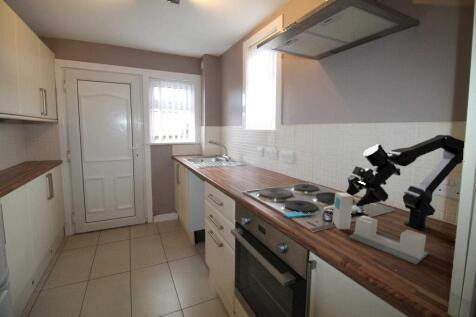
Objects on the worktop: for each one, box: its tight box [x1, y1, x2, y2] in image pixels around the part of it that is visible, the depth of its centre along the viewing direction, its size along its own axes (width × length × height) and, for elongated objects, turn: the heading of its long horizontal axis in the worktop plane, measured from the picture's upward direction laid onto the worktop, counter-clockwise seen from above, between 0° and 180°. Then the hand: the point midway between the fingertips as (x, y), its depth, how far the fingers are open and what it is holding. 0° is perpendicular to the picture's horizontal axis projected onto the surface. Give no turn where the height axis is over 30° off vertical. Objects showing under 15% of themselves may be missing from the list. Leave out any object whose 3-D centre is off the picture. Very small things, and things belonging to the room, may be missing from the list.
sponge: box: [283, 210, 312, 219], centre depth 105 cm, size 2×12×6 cm
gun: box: [323, 204, 367, 213], centre depth 110 cm, size 18×3×10 cm
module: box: [332, 192, 354, 230], centre depth 94 cm, size 5×5×13 cm
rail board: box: [349, 215, 429, 265], centre depth 80 cm, size 10×20×7 cm, turn 37°
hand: (349, 201), depth 93 cm, fingers open, 9 cm apart
